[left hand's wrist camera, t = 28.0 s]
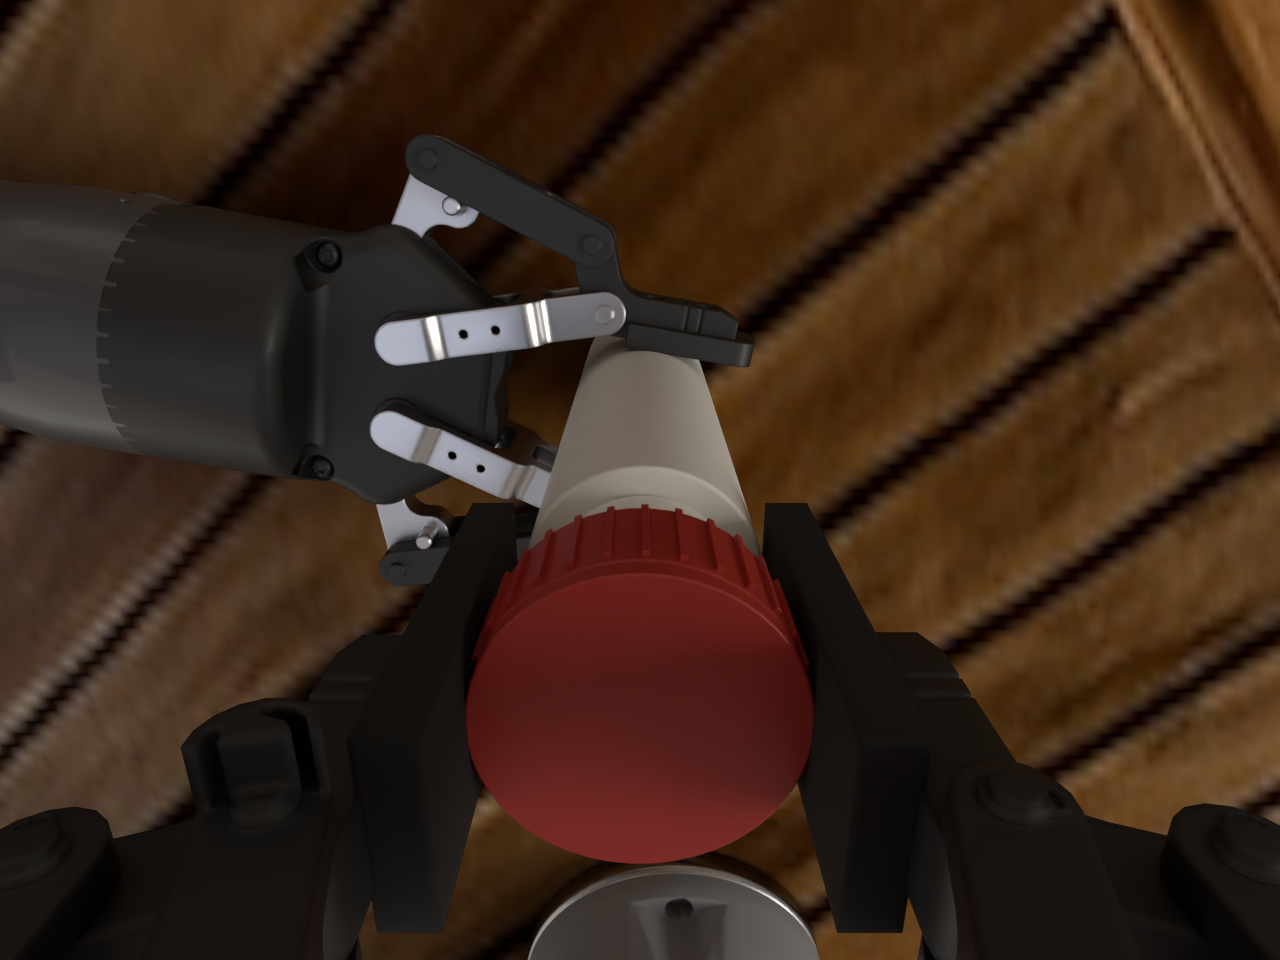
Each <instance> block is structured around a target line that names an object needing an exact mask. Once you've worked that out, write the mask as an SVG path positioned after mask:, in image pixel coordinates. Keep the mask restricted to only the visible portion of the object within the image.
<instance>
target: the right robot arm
mask: <svg viewBox="0 0 1280 960" xmlns="http://www.w3.org/2000/svg"><path fill="white" fill-rule="evenodd" d="M405 163H406V166H407V169H408V171H409V172H410V175H409V178H408V180H407V183H406V186H405V188H404V191H403V194H402V196H401V199H400V202H399V204H398V207H397V210H396V213H395V215H394V218H393V221H392V223H389V224H382V225H377V226H374V227H372V228H370V229H367V230H365V231H361V232H349V231H341V230H336V229H330V228H325V227H319V226H313V225H308V224H302V223H297V222H291V221H285V220H280V219H274V218H268V217H263V216H257V215H252V214H246V213H240V212H235V211H229V210H224V209H218V208H212V207H207V206H201V205H196V204H190V203H184V202H179V201H178V200H176V199H174V198H171V197H168V196H164V195H160V194H156V193H151V192H144V191H139V192H133V193H128V192H122V191H116V190H111V189H104V188H97V187H89V186H82V185H69V184H41V183H22V182H14V181H8V180H3V179H0V425H4V426H8V427H11V428H15V429H19V430H22V431H25V432H28V433H31V434H35V435H38V436H41V437H45V438H49V439H52V440H56V441H60V442H65V443H70V444H75V445H81V446H87V447H94V448H100V449H107V450H113V451H119V452H126V453H132V454H139V455H145V456H151V457H156V458H162V459H169V460H175V461H181V462H188V463H194V464H201V465H207V466H213V467H220V468H226V469H232V470H238V471H245V472H251V473H257V474H263V475H269V476H276V477H282V478H288V479H298V480H319V481H328V482H332V483H335V484H338V485H340V486H342V487H344V488H346V489H348V490H349V491H351V492H353V493H354V494H355V495H357V496H358V497H360V498H361V499H363V500H365V501H367V502H370V503H373V504H376V505H377V509H378V513H379V517H380V520H381V524H382V528H383V532H384V535H385V539H386V543H387V547H388V551H387V552H386V553H385V555H384V556H383V558H382V559H381V561H380V563H379V572H380V574H381V576H382V578H383V579H384V580H385V581H386V582H388V583H389V584H391V585H394V586H409V585H418V584H427V583H431V581H432V579H433V577H434V575H435V573H436V571H437V570H438V568H439V566H440V564H441V562H442V560H443V558H444V556H445V554H446V553H447V551H448V549H449V547H450V545H451V543H452V541H453V539H454V538H455V536H456V534H457V532H458V530H459V528H460V526H461V524H462V523H463V521H464V519H465V517H466V516H458V517H453V516H452V514H451V513H450V512H449V511H448V510H447V509H446V508H444V507H442V506H438V505H427V504H424V503H422V502H420V501H419V500H418V499H417V498H416V497H415V496H414V495H415V494H417V493H419V492H421V491H423V490H425V489H427V488H429V487H431V486H433V485H435V484H438V483H440V482H442V481H444V480H446V479H448V478H450V477H452V476H453V477H455V478H457V479H459V480H462V481H464V482H466V483H468V484H471V485H473V486H475V487H477V488H479V489H482V490H484V491H486V492H488V493H490V494H493V495H495V496H497V497H500V498H503V499H520V500H522V501H525V502H527V503H529V504H531V505H533V506H536V508H528V509H519V510H515V525H516V541H517V558H518V562H519V559H520V556H521V553H522V551H523V550H524V549H525V548H527V549H528V546H529V542H530V538H531V535H532V532H533V529H534V525H535V522H536V519H537V516H538V513H539V510H540V506H541V503H542V500H543V497H544V494H545V490H546V487H547V484H548V481H549V478H550V474H551V471H552V468H553V465H554V462H555V459H556V455H557V452H558V449H559V448H558V447H556V446H554V445H551V444H549V443H547V442H545V441H544V440H542V439H541V438H540V436H539V435H538V434H537V433H536V432H534V431H533V430H531V429H529V428H527V427H525V426H523V425H520V424H518V423H516V422H514V421H512V420H510V419H508V409H509V401H508V395H507V388H506V381H505V380H506V376H507V374H508V372H509V369H510V367H511V364H512V362H513V359H514V357H515V350H519V349H527V348H533V347H538V346H541V345H544V344H547V343H551V342H558V341H566V340H575V339H583V338H591V337H599V336H607V335H609V336H615V337H621V338H626V341H625V347H626V348H632V349H638V350H644V351H651V352H658V353H662V354H667V355H673V356H679V357H684V358H690V359H696V360H702V361H708V362H713V363H719V364H725V365H731V366H737V367H749V366H750V362H751V357H752V353H753V348H754V344H755V342H754V341H753V340H752V338H751V337H750V335H749V334H747V333H744V332H741V331H737V327H738V321H737V320H736V318H735V317H734V315H733V314H731V313H729V312H728V311H726V310H725V309H723V308H722V307H720V306H718V305H713V304H708V303H702V302H696V301H691V300H685V299H679V298H674V297H668V296H662V295H657V294H651V293H645V292H641V291H638V290H635V289H634V288H632V287H631V286H630V285H628V283H627V282H626V281H625V279H624V278H623V275H622V272H621V268H620V262H619V257H618V251H617V246H616V242H617V237H616V232H615V230H614V228H613V227H612V225H611V224H610V223H609V222H607V221H606V220H604V219H602V218H600V217H598V216H596V215H594V214H593V213H591V212H589V211H587V210H585V209H583V208H581V207H579V206H577V205H576V204H574V203H572V202H570V201H568V200H566V199H564V198H562V197H560V196H559V195H557V194H555V193H553V192H551V191H549V190H547V189H545V188H543V187H542V186H540V185H538V184H536V183H534V182H532V181H530V180H528V179H526V178H525V177H523V176H521V175H519V174H517V173H515V172H513V171H511V170H509V169H507V168H506V167H504V166H502V165H500V164H498V163H496V162H494V161H492V160H490V159H489V158H487V157H485V156H483V155H481V154H479V153H477V152H475V151H473V150H472V149H470V148H468V147H466V146H464V145H462V144H460V143H458V142H456V141H454V140H450V139H447V138H443V137H439V136H433V135H428V134H423V135H419V136H417V137H415V138H413V139H412V140H411V141H410V142H409V144H408V145H407V148H406V151H405ZM483 214H484V215H486V216H488V217H490V218H492V219H493V220H495V221H497V222H499V223H501V224H503V225H505V226H507V227H509V228H511V229H513V230H515V231H517V232H519V233H521V234H523V235H524V236H526V237H528V238H530V239H532V240H534V241H536V242H538V243H540V244H542V245H544V246H546V247H548V248H550V249H552V250H554V251H555V252H557V253H559V254H561V255H563V256H565V257H567V258H569V259H571V260H573V262H574V267H575V272H576V276H577V281H578V286H571V287H563V288H555V289H548V288H542V289H533V290H525V291H517V292H509V293H501V294H493V295H490V294H489V293H488V292H487V291H486V290H485V289H484V288H483V287H482V286H481V285H480V284H479V283H478V282H477V281H476V280H475V279H474V278H473V277H472V276H471V275H470V274H469V273H468V272H467V271H466V270H465V269H464V268H463V267H462V266H460V265H459V264H458V263H457V262H456V261H455V260H454V259H453V258H452V257H451V256H450V255H449V254H448V253H447V252H446V251H445V250H444V249H443V248H442V247H441V246H440V245H439V244H438V243H437V242H436V241H435V240H434V239H433V238H432V237H431V234H432V232H433V230H434V229H435V228H436V227H438V226H439V225H448V226H451V227H454V228H464V227H468V226H472V225H474V224H476V223H478V222H479V221H480V219H481V218H482V216H483ZM481 465H483V466H484V467H483V466H481Z"/></svg>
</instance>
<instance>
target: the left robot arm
mask: <svg viewBox="0 0 1280 960" xmlns="http://www.w3.org/2000/svg"><path fill="white" fill-rule="evenodd" d="M762 557H763V558H764V560H765V563H766V566H767V569H768V571H769V574H770V576H771V578H772V580H773V581H774V580H777V579H778V580H779V581H780V583H781V586H782V589H783V591H784V594H785V597H786V600H787V603H788V605H789V608H790V611H791V614H792V616H793V619H794V622H795V625H796V628H797V630H798V633H799V636H800V639H801V642H802V644H803V647H804V650H805V653H806V656H807V658H808V661H809V670H807V674H808V677H809V680H810V684H811V688H812V692H813V696H814V721H813V732H812V742H811V751H810V755H809V758H808V760H807V763H806V765H805V768H804V770H803V772H802V775H801V776H800V778H799V780H798V781H797V783H798V787H799V790H800V794H801V798H802V802H803V805H804V809H805V813H806V817H807V821H808V824H809V828H810V832H811V836H812V839H813V843H814V847H815V851H816V854H817V858H818V862H819V866H820V870H821V873H822V877H823V881H824V885H825V888H826V892H827V896H828V900H829V903H830V907H831V911H832V915H833V919H834V922H835V926H836V930H837V933H902V932H903V925H904V919H905V913H906V907H907V901H908V897H909V900H910V902H911V905H912V908H913V910H914V913H915V915H916V918H917V921H918V923H919V926H920V929H921V931H922V938H921V943H920V949H919V955H918V960H1280V826H1279V825H1278V824H1276V823H1274V822H1272V821H1270V820H1268V819H1266V818H1264V817H1262V816H1259V815H1256V814H1253V813H1250V812H1247V811H1244V810H1241V809H1238V808H1235V807H1230V806H1222V805H1215V804H1207V803H1204V804H1198V805H1193V806H1187V807H1184V808H1183V809H1182V810H1180V811H1179V812H1178V813H1177V814H1176V815H1175V816H1174V817H1173V818H1172V821H1171V825H1170V828H1169V831H1168V834H1167V835H1162V834H1158V833H1154V832H1149V831H1145V830H1141V829H1136V828H1132V827H1128V826H1123V825H1119V824H1115V823H1110V822H1106V821H1103V820H1100V819H1096V818H1093V817H1090V816H1086V815H1084V812H1083V810H1082V809H1081V807H1080V806H1079V804H1078V803H1077V801H1076V800H1075V798H1074V797H1073V795H1072V794H1071V793H1070V792H1069V791H1068V790H1066V789H1065V788H1064V787H1063V786H1062V785H1060V784H1059V783H1058V782H1057V781H1055V780H1054V779H1053V778H1052V777H1050V776H1048V775H1046V774H1044V773H1042V772H1040V771H1038V770H1036V769H1034V768H1032V767H1030V766H1028V765H1024V764H1021V763H1017V762H1016V761H1015V759H1014V758H1013V756H1012V755H1011V753H1010V752H1009V750H1008V749H1007V747H1006V746H1005V744H1004V743H1003V741H1002V740H1001V738H1000V737H999V735H998V734H997V732H996V731H995V729H994V727H993V726H992V724H991V723H990V721H989V720H988V718H987V717H986V715H985V714H984V712H983V711H982V709H981V708H980V706H979V705H978V703H977V702H976V700H975V699H974V698H971V692H970V691H969V689H968V688H967V686H966V685H965V683H964V682H963V680H962V679H959V674H958V673H957V671H956V670H955V668H954V667H953V665H952V664H951V662H950V661H949V659H948V657H947V656H946V654H945V653H944V652H943V651H942V650H941V649H939V648H938V647H937V646H935V645H934V644H932V643H931V642H930V641H928V640H927V639H926V638H924V637H923V636H921V635H920V634H919V633H917V632H875V631H874V629H873V627H872V625H871V623H870V621H869V619H868V617H867V616H866V614H865V612H864V610H863V608H862V606H861V604H860V602H859V601H858V599H857V597H856V595H855V593H854V591H853V589H852V587H851V586H850V584H849V582H848V580H847V578H846V576H845V574H844V572H843V570H842V569H841V567H840V565H839V563H838V561H837V559H836V557H835V555H834V554H833V552H832V550H831V548H830V546H829V544H828V542H827V540H826V538H825V537H824V535H823V533H822V531H821V529H820V527H819V525H818V523H817V522H816V520H815V518H814V516H813V514H812V512H811V510H810V508H809V506H808V505H807V503H765V517H764V534H763V550H762ZM517 564H518V558H517V541H516V525H515V509H514V503H473V504H472V506H471V507H470V509H469V511H468V513H467V515H466V517H465V519H464V521H463V523H462V524H461V526H460V528H459V530H458V532H457V534H456V536H455V538H454V539H453V541H452V543H451V545H450V547H449V549H448V551H447V553H446V554H445V556H444V558H443V560H442V562H441V564H440V566H439V568H438V570H437V571H436V573H435V575H434V577H433V579H432V581H431V583H430V585H429V586H428V588H427V590H426V592H425V594H424V596H423V598H422V600H421V602H420V603H419V605H418V607H417V609H416V611H415V613H414V615H413V617H412V618H411V620H410V622H409V624H408V626H407V628H406V630H405V632H404V633H403V635H362V636H360V637H359V638H358V639H356V640H355V641H354V642H352V643H351V644H350V645H348V646H347V647H345V648H344V649H343V650H341V651H340V652H339V653H337V654H336V655H335V657H334V658H333V660H332V661H331V663H330V664H329V666H328V668H327V669H326V671H325V672H324V674H323V675H322V677H321V682H318V683H317V684H316V686H315V687H314V689H313V690H312V692H311V694H310V695H309V700H308V701H305V702H303V701H300V700H296V699H292V698H265V699H261V700H256V701H252V702H248V703H243V704H239V705H237V706H235V707H232V708H230V709H228V710H226V711H223V712H221V713H219V714H217V715H214V716H213V717H211V718H210V719H209V720H207V721H206V722H204V723H203V724H202V725H200V726H199V727H198V728H196V729H195V730H193V732H192V733H191V734H190V736H189V737H188V738H187V739H186V741H185V742H184V743H183V745H182V746H181V751H182V755H183V759H184V763H185V767H186V771H187V775H188V779H189V783H190V786H191V790H192V794H193V798H194V802H195V806H196V810H197V814H196V816H195V818H194V819H191V820H188V821H184V822H181V823H178V824H174V825H171V826H167V827H162V828H158V829H154V830H149V831H145V832H141V833H136V834H132V835H128V836H123V837H119V838H115V839H113V836H112V833H111V830H110V827H109V823H108V821H107V820H106V819H105V818H104V817H103V816H102V815H101V814H100V813H98V812H97V811H96V810H91V809H85V808H80V807H69V808H61V809H53V810H47V811H44V812H41V813H38V814H35V815H32V816H29V817H26V818H23V819H20V820H17V821H15V822H13V823H11V824H10V825H8V826H6V827H4V828H2V829H0V960H362V957H361V949H360V943H359V938H358V934H359V931H360V929H361V926H362V923H363V921H364V918H365V915H366V913H367V910H368V908H369V905H370V902H371V900H372V904H373V910H374V916H375V922H376V928H377V933H442V932H443V928H444V924H445V921H446V917H447V913H448V909H449V905H450V902H451V898H452V894H453V890H454V887H455V883H456V879H457V875H458V872H459V868H460V864H461V860H462V856H463V853H464V849H465V845H466V841H467V838H468V834H469V830H470V826H471V823H472V819H473V815H474V811H475V807H476V804H477V800H478V796H479V792H480V789H481V785H482V781H481V779H480V777H479V775H478V773H477V771H476V768H475V766H474V764H473V762H472V759H471V756H470V752H469V746H468V737H467V727H466V715H465V700H466V695H467V690H468V686H469V682H470V679H471V676H472V673H473V670H474V668H475V664H476V662H475V661H472V660H471V657H472V654H473V652H474V649H475V646H476V643H477V640H478V638H479V635H480V632H481V629H482V627H483V624H484V621H485V618H486V616H487V613H488V610H489V607H490V604H491V602H492V599H493V597H494V598H496V595H497V592H498V589H499V586H500V584H501V581H502V578H503V576H504V574H505V572H506V571H507V572H509V573H511V572H512V571H513V569H514V568H515V567H516V566H517ZM528 960H820V958H819V953H818V949H817V945H816V940H815V936H814V932H813V929H812V926H811V923H810V921H809V919H808V917H807V915H806V913H805V912H804V910H803V909H802V907H801V906H800V904H799V903H798V902H797V901H796V899H795V898H794V897H793V896H792V895H791V894H790V893H789V892H788V891H787V890H786V889H785V888H784V887H783V886H781V885H780V884H779V883H777V882H776V881H775V880H773V879H772V878H770V877H769V876H767V875H765V874H764V873H762V872H760V871H758V870H756V869H754V868H752V867H750V866H748V865H745V864H743V863H740V862H738V861H735V860H731V859H728V858H725V857H721V856H716V855H711V854H706V853H704V854H701V855H698V856H694V857H690V858H686V859H681V860H676V861H670V862H661V863H645V864H630V863H619V862H608V863H605V864H603V865H601V866H599V867H596V868H594V869H592V870H590V871H588V872H586V873H585V874H583V875H581V876H579V877H578V878H576V879H575V880H573V881H572V882H570V883H569V884H568V885H567V886H565V887H564V888H563V889H562V890H561V891H560V892H559V893H558V894H557V895H556V896H555V897H554V898H553V899H552V900H551V901H550V902H549V903H548V905H547V906H546V907H545V909H544V910H543V912H542V913H541V915H540V917H539V918H538V921H537V923H536V925H535V927H534V930H533V933H532V937H531V942H530V948H529V955H528Z"/></svg>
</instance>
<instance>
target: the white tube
mask: <svg viewBox="0 0 1280 960" xmlns="http://www.w3.org/2000/svg"><path fill="white" fill-rule="evenodd" d="M625 341H626V338H621V337H615V336H609V335H607V336H599V337H595V338H594V340H593V342H592V345H591V347H590V350H589V353H588V357H587V360H586V363H585V366H584V369H583V373H582V376H581V379H580V382H579V385H578V388H577V392H576V395H575V398H574V401H573V404H572V408H571V411H570V414H569V417H568V420H567V424H566V427H565V430H564V433H563V436H562V439H561V443H560V446H559V449H558V452H557V455H556V459H555V462H554V465H553V468H552V471H551V474H550V478H549V481H548V484H547V487H546V490H545V494H544V497H543V500H542V503H541V506H540V510H539V513H538V516H537V519H536V522H535V525H534V529H533V532H532V535H531V538H530V542H529V546H528V550H529V551H530V550H531V549H532V548H533V547H534V546H535V545H536V544H537V543H539V542H540V541H542V540H543V539H544V537H545V533H546V531H548V530H549V529H552V530H553V531H556V530H558V529H560V528H562V527H564V526H565V525H567V524H569V523H571V522H574V519H575V516H578V515H580V514H581V515H582V517H583V518H584V517H587V516H590V515H594V514H598V513H602V512H606V511H607V507H611V506H614V507H615V510H619V509H627V508H641V504H648V505H649V508H652V509H661V510H669V511H675V508H679V509H682V510H683V514H686V515H690V516H693V517H695V518H698V519H701V520H703V521H706V520H707V518H709V519H712V520H714V523H715V526H716V527H718V528H720V529H722V530H724V531H725V532H727V533H728V534H730V535H731V536H733V537H734V536H735V535H736V534H738V535H739V536H740V537H742V540H743V544H744V546H745V547H746V548H748V549H749V550H750V551H751V552H752V553H753V554H754V555H755V556H756V557H757V556H759V555H761V553H760V548H759V544H758V540H757V537H756V534H755V531H754V528H753V525H752V522H751V519H750V516H749V513H748V510H747V507H746V504H745V500H744V497H743V494H742V491H741V488H740V485H739V482H738V479H737V476H736V473H735V470H734V467H733V464H732V460H731V457H730V454H729V451H728V448H727V445H726V442H725V439H724V436H723V433H722V430H721V427H720V424H719V420H718V417H717V414H716V411H715V408H714V405H713V402H712V399H711V396H710V393H709V390H708V387H707V384H706V381H705V377H704V374H703V371H702V368H701V365H700V362H699V360H696V359H690V358H684V357H679V356H673V355H667V354H662V353H658V352H651V351H644V350H638V349H632V348H626V347H625Z"/></svg>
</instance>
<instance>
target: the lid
mask: <svg viewBox="0 0 1280 960" xmlns="http://www.w3.org/2000/svg"><path fill="white" fill-rule="evenodd" d="M471 660H472V661H475V662H476V664H475V668H474V670H473V673H472V676H471V679H470V682H469V686H468V690H467V695H466V700H465V715H466V727H467V737H468V746H469V752H470V756H471V759H472V762H473V764H474V766H475V768H476V771H477V773H478V775H479V777H480V779H481V781H482V782H483V784H484V785H485V787H486V789H487V790H488V792H489V793H490V795H491V796H492V797H493V798H494V799H495V801H496V802H497V803H498V804H499V805H500V807H501V808H502V809H503V810H504V811H505V812H506V813H507V814H509V815H510V816H511V817H512V818H513V819H514V820H515V821H516V822H517V823H519V824H520V825H522V826H523V827H524V828H526V829H527V830H528V831H530V832H531V833H533V834H534V835H536V836H538V837H540V838H541V839H543V840H545V841H547V842H549V843H550V844H553V845H555V846H557V847H560V848H562V849H564V850H567V851H569V852H572V853H576V854H579V855H582V856H585V857H589V858H594V859H599V860H604V861H609V862H619V863H630V864H645V863H661V862H670V861H676V860H681V859H686V858H690V857H694V856H698V855H701V854H704V853H707V852H710V851H713V850H715V849H718V848H720V847H722V846H724V845H727V844H729V843H731V842H733V841H735V840H737V839H738V838H740V837H742V836H743V835H745V834H747V833H748V832H750V831H751V830H753V829H754V828H755V827H757V826H758V825H759V824H761V823H762V822H763V821H765V820H766V819H767V818H768V817H769V816H770V815H771V814H772V813H773V812H774V811H775V810H776V809H777V808H778V807H779V806H780V805H781V804H782V803H783V801H784V800H785V799H786V798H787V796H788V795H789V794H790V793H791V791H792V790H793V788H794V787H795V785H796V783H797V781H798V780H799V778H800V776H801V775H802V772H803V770H804V768H805V765H806V763H807V760H808V758H809V755H810V751H811V742H812V732H813V721H814V696H813V692H812V688H811V684H810V680H809V677H808V674H807V670H809V661H808V658H807V656H806V653H805V650H804V647H803V644H802V642H801V639H800V636H799V633H798V630H797V628H796V625H795V622H794V619H793V616H792V614H791V611H790V608H789V605H788V603H787V600H786V597H785V594H784V591H783V589H782V586H781V583H780V581H779V580H778V579H777V580H774V581H773V580H772V578H771V576H770V574H769V571H768V569H767V566H766V563H765V560H764V558H763V557H762V556H761V555H759V556H757V557H756V556H755V555H754V554H753V553H752V552H751V551H750V550H749V549H748V548H746V547H745V546H744V544H743V540H742V537H740V536H739V535H738V534H736V535H735V536H734V537H733V536H731V535H730V534H728V533H727V532H725V531H724V530H722V529H720V528H718V527H716V526H715V523H714V520H712V519H709V518H707V520H706V521H703V520H701V519H698V518H695V517H693V516H690V515H686V514H683V510H682V509H679V508H675V511H669V510H661V509H652V508H649V505H648V504H641V508H627V509H619V510H615V507H614V506H611V507H607V511H606V512H602V513H598V514H594V515H590V516H587V517H584V518H583V517H582V515H581V514H580V515H578V516H575V519H574V522H571V523H569V524H567V525H565V526H564V527H562V528H560V529H558V530H556V531H553V530H552V529H549V530H548V531H546V533H545V537H544V539H543V540H542V541H540V542H539V543H537V544H536V545H535V546H534V547H533V548H532V549H531V550H530V551H529V550H528V549H527V548H525V549H524V550H523V551H522V553H521V556H520V559H519V562H518V564H517V566H516V567H515V568H514V569H513V571H512V572H511V573H509V572H507V571H506V572H505V574H504V576H503V578H502V581H501V584H500V586H499V589H498V592H497V595H496V598H494V597H493V599H492V602H491V604H490V607H489V610H488V613H487V616H486V618H485V621H484V624H483V627H482V629H481V632H480V635H479V638H478V640H477V643H476V646H475V649H474V652H473V654H472V657H471Z"/></svg>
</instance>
